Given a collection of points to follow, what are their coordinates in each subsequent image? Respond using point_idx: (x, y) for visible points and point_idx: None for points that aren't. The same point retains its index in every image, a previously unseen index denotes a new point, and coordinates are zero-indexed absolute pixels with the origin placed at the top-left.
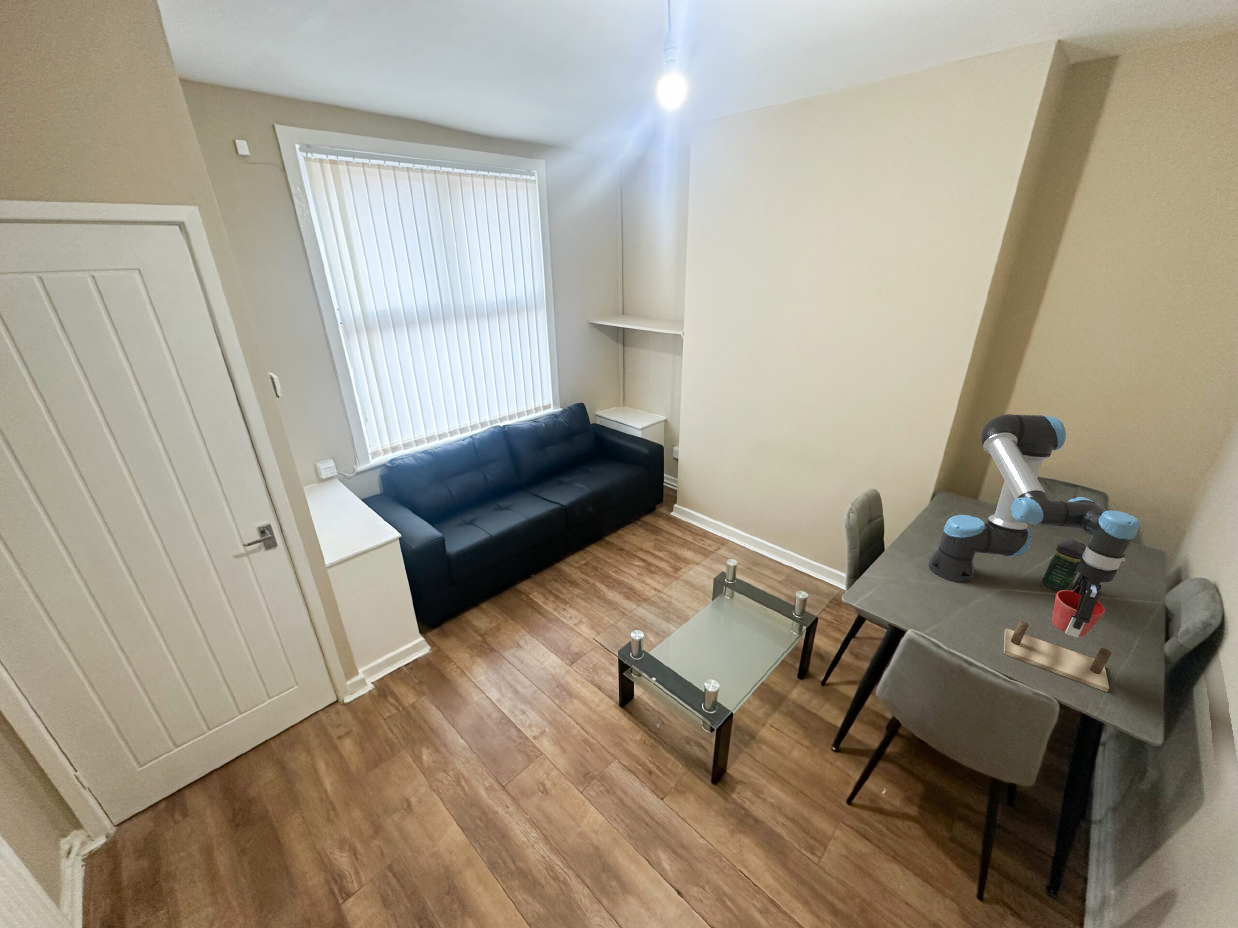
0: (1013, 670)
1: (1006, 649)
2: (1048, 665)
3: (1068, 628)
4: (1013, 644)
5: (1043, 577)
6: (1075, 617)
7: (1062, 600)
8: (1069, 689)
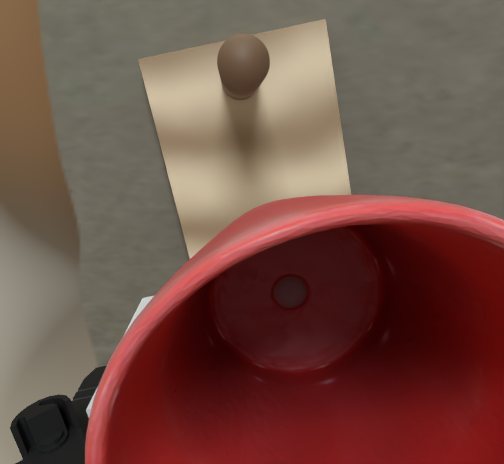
0: (63, 120)
1: (149, 62)
2: (185, 218)
3: (130, 325)
4: (215, 78)
5: None
6: (26, 443)
7: (437, 247)
8: (132, 291)
